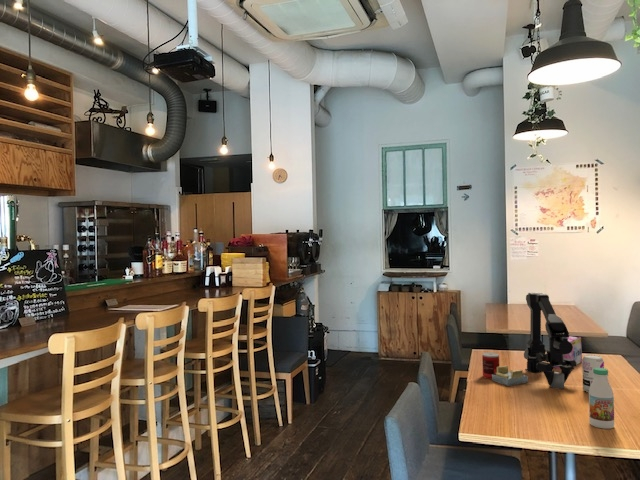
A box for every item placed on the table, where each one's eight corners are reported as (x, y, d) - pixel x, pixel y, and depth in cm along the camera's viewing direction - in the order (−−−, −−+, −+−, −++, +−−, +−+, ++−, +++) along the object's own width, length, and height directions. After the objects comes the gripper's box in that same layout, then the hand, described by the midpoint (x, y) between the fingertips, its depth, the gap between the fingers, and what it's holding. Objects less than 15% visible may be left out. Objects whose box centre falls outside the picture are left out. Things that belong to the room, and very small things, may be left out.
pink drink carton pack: (567, 359, 273) (567, 334, 273) (583, 361, 268) (582, 336, 268) (551, 367, 256) (550, 341, 256) (567, 370, 251) (566, 343, 251)
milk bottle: (584, 422, 180) (583, 366, 180) (605, 420, 181) (603, 365, 181) (598, 430, 173) (597, 372, 173) (619, 428, 173) (618, 371, 173)
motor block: (514, 376, 241) (514, 364, 241) (530, 381, 232) (530, 369, 232) (492, 380, 235) (491, 367, 235) (507, 385, 226) (507, 372, 226)
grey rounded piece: (556, 384, 227) (555, 370, 227) (567, 387, 221) (567, 373, 222) (546, 386, 225) (546, 372, 225) (557, 389, 219) (557, 375, 219)
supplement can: (606, 391, 215) (606, 356, 215) (601, 395, 209) (600, 360, 209) (586, 387, 221) (585, 353, 221) (580, 392, 215) (579, 357, 215)
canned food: (497, 374, 245) (496, 352, 245) (501, 379, 237) (500, 356, 237) (481, 374, 246) (480, 352, 246) (484, 379, 238) (484, 356, 238)
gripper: (556, 343, 234) (557, 376, 234) (526, 347, 227) (527, 382, 227) (576, 348, 224) (577, 382, 224) (546, 352, 217) (547, 388, 217)
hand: (556, 383), depth 223 cm, fingers open, 8 cm apart
